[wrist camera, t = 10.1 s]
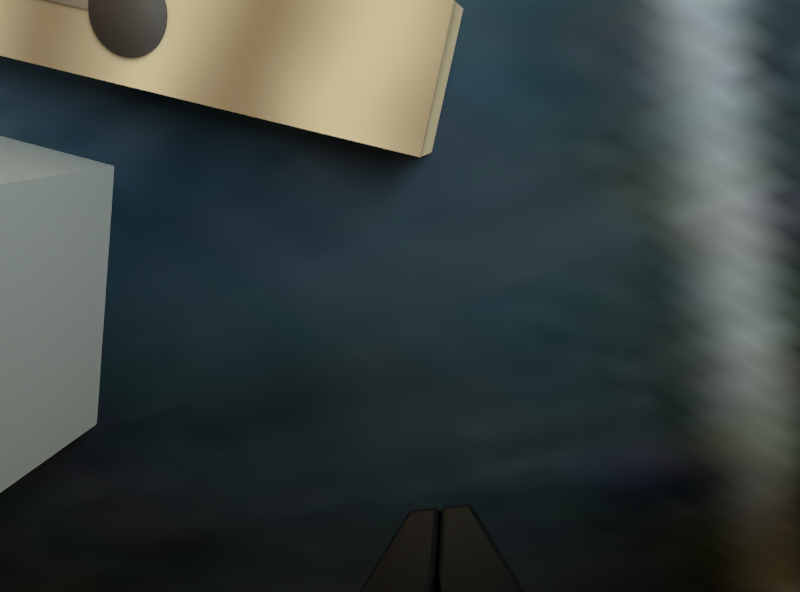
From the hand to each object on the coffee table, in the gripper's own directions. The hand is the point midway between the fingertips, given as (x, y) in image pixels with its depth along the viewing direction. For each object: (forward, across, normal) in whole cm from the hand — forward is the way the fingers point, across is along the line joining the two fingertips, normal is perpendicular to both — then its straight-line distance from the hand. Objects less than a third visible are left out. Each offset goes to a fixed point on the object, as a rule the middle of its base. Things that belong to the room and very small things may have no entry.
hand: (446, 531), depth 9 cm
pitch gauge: (+15, +9, -8) cm, 20 cm away
